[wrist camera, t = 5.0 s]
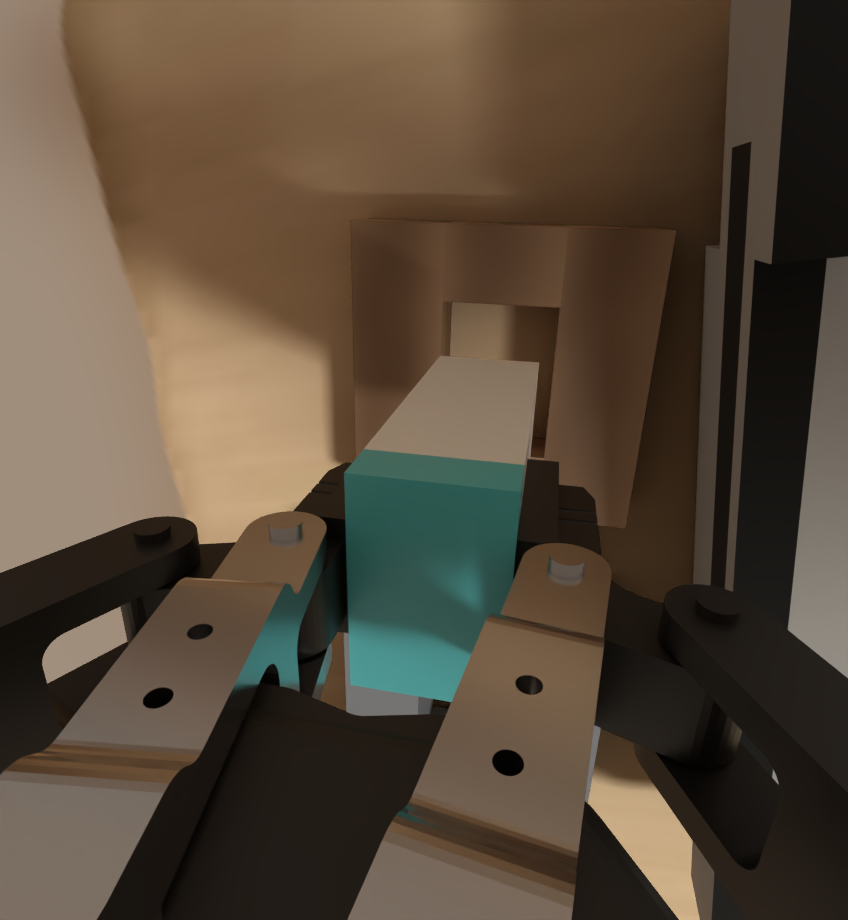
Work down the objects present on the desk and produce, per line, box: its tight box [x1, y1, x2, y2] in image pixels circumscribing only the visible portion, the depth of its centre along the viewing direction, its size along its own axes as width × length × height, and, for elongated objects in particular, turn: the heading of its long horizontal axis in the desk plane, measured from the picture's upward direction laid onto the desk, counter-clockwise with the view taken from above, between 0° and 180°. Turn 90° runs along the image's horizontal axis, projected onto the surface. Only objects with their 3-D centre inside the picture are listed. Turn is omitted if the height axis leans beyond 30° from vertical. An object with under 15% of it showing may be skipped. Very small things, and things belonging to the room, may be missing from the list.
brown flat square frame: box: [351, 219, 676, 528], centre depth 22 cm, size 10×10×2 cm
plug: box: [344, 356, 539, 702], centre depth 13 cm, size 3×4×8 cm, turn 179°
